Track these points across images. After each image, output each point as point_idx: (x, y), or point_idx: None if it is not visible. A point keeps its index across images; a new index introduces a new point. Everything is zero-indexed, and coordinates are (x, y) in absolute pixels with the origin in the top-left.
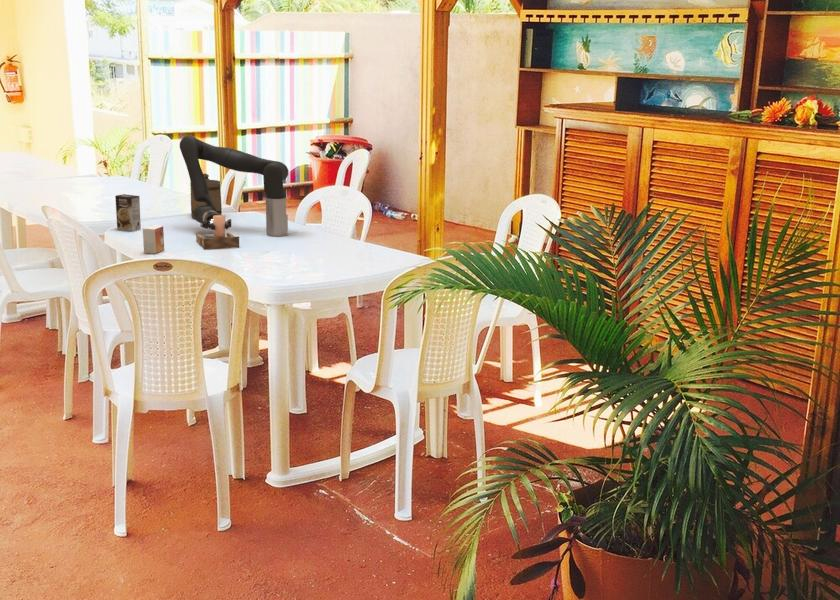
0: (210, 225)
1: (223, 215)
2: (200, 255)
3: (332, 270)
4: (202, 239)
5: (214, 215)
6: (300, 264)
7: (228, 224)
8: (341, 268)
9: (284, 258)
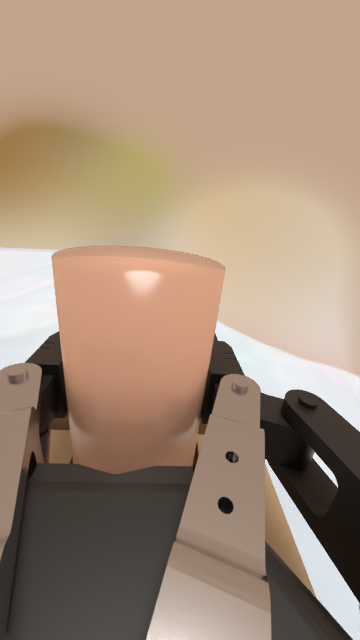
0: (238, 367)
1: (70, 254)
2: (254, 370)
3: (29, 261)
4: (309, 588)
5: (201, 273)
6: (41, 278)
7: (44, 343)
8: (5, 261)
9: (26, 300)
